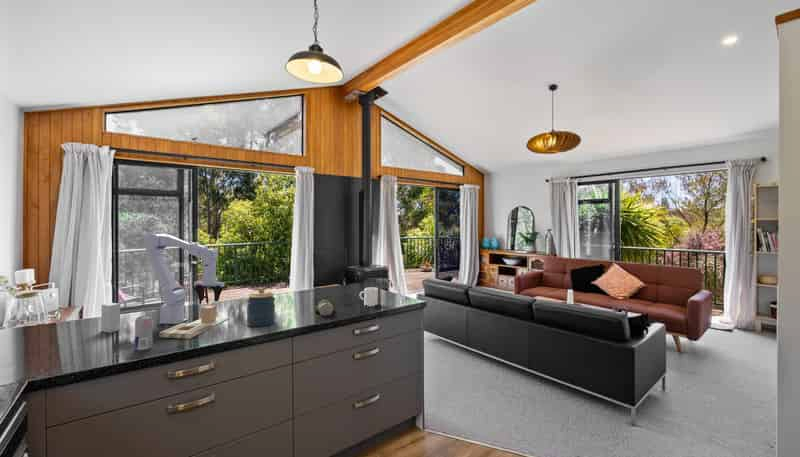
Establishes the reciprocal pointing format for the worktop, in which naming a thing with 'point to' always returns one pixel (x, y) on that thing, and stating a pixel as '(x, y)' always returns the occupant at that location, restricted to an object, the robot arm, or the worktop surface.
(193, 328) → the socket block
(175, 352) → the worktop surface
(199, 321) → the sage mat
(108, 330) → the skincare box
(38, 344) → the worktop surface
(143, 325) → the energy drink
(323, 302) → the ceramic sculpture
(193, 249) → the robot arm
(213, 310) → the peg
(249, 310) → the canister
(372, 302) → the mug
